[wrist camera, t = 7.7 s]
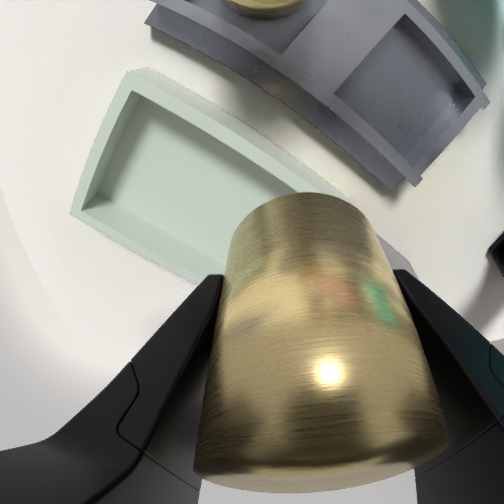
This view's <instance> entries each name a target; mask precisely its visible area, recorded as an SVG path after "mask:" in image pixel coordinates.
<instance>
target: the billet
mask: <svg viewBox="0 0 504 504" xmlns="http://www.w3.org/2000/svg"><path fill="white" fill-rule="evenodd" d="M448 445H449V436H448V432H447V428H446V424H445V420H444V416H443V412H442V408H441V404H440V401H439V397H438V394H437V390H436V387H435V384H434V380H433V377H432V374H431V371H430V367H429V364H428V361H427V358H426V355H425V352H424V349H423V347H422V344H421V341H420V338H419V335H418V333H417V330H416V327H415V324H414V322H413V319H412V317H411V314H410V311H409V309H408V306H407V304H406V301H405V299H404V296H403V294H402V292H401V289H400V287H399V284H398V282H397V280H396V277H395V275H394V273H393V271H392V268H391V266H390V264H389V262H388V259H387V257H386V255H385V253H384V251H383V249H382V246H381V244H380V242H379V240H378V238H377V236H376V234H375V232H374V230H373V228H372V226H371V224H370V222H369V221H368V219H367V218H366V217H365V216H364V214H363V213H362V212H360V211H359V210H358V209H357V208H356V207H355V206H353V205H352V204H350V203H349V202H347V201H345V200H342V199H340V198H338V197H335V196H332V195H328V194H323V193H315V192H301V193H293V194H287V195H283V196H280V197H277V198H274V199H272V200H270V201H268V202H265V203H263V204H262V205H260V206H259V207H257V208H256V209H254V210H253V211H252V212H251V213H249V214H248V215H247V216H246V217H245V218H244V219H243V221H242V222H241V223H240V224H239V226H238V227H237V229H236V230H235V232H234V235H233V237H232V239H231V243H230V246H229V251H228V257H227V262H226V268H225V273H224V279H223V284H222V290H221V295H220V301H219V307H218V312H217V318H216V324H215V330H214V336H213V342H212V348H211V354H210V360H209V366H208V372H207V378H206V384H205V391H204V397H203V404H202V410H201V417H200V423H199V430H198V437H197V444H196V450H195V457H194V465H193V471H194V473H195V474H196V475H198V476H199V477H201V478H203V479H205V480H207V481H209V482H212V483H215V484H219V485H222V486H226V487H230V488H235V489H241V490H247V491H255V492H267V493H311V492H321V491H322V492H323V491H331V490H338V489H345V488H351V487H355V486H360V485H365V484H369V483H373V482H377V481H380V480H384V479H387V478H390V477H393V476H396V475H398V474H401V473H404V472H406V471H409V470H411V469H414V468H416V467H418V466H420V465H422V464H424V463H426V462H428V461H429V460H431V459H433V458H434V457H436V456H437V455H439V454H440V453H441V452H442V451H443V450H444V449H446V447H447V446H448Z"/></svg>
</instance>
